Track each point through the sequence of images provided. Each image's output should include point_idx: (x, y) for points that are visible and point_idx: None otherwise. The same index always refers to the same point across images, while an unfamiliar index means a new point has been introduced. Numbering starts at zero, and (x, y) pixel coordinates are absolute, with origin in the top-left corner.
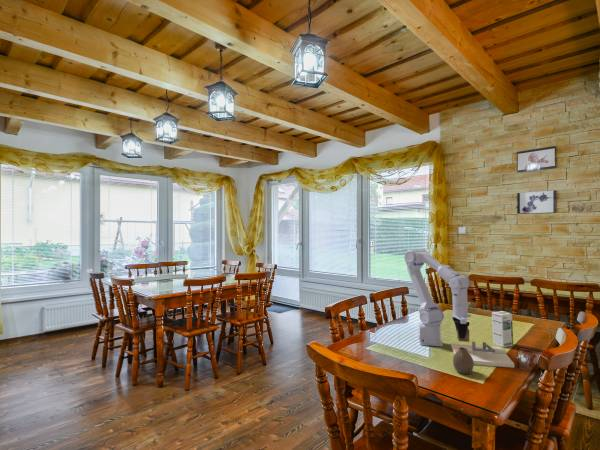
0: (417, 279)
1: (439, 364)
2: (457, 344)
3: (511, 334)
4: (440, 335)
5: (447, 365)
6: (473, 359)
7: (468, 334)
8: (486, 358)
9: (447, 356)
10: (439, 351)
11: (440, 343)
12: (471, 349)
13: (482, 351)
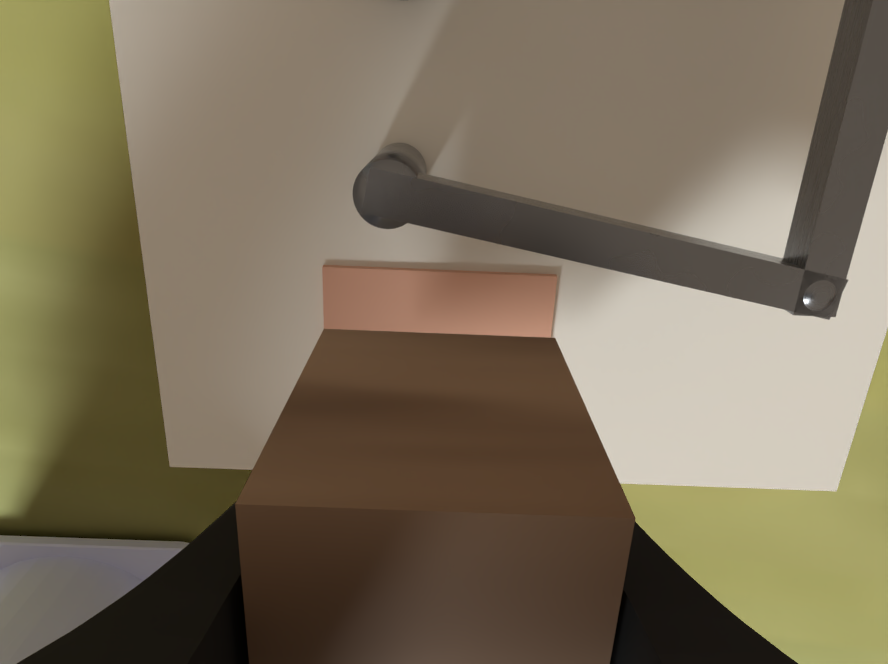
0: None
1: (826, 646)
2: (160, 381)
3: None
4: (24, 658)
5: (861, 579)
6: (846, 287)
7: (589, 443)
8: (813, 52)
9: None
10: None
11: (110, 565)
12: None
13: (443, 21)
